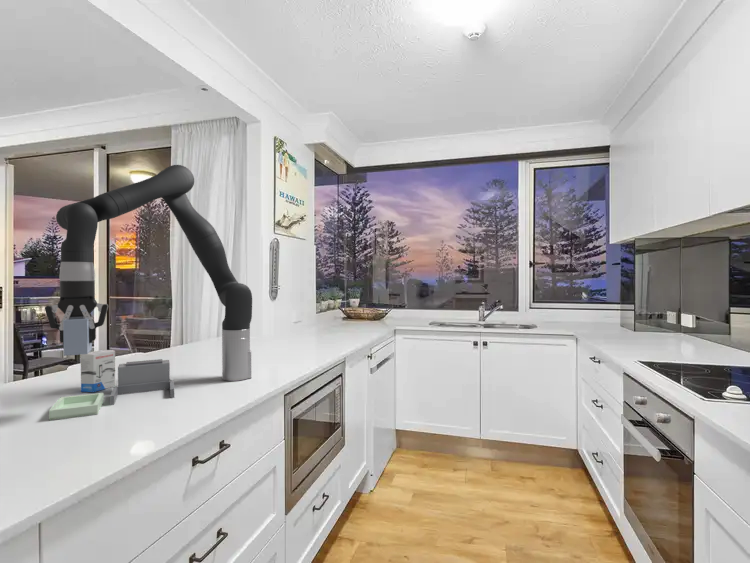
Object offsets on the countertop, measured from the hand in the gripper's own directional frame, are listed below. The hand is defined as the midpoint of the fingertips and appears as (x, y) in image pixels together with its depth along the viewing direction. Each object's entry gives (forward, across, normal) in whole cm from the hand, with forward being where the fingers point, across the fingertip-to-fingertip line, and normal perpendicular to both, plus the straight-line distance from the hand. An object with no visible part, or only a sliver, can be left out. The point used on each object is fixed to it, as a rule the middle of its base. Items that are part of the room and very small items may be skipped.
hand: (78, 343), depth 110 cm
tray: (+18, 0, 0) cm, 18 cm away
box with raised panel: (+2, 0, 0) cm, 2 cm away
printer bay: (+18, -15, -10) cm, 25 cm away
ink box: (+18, -2, -23) cm, 29 cm away
